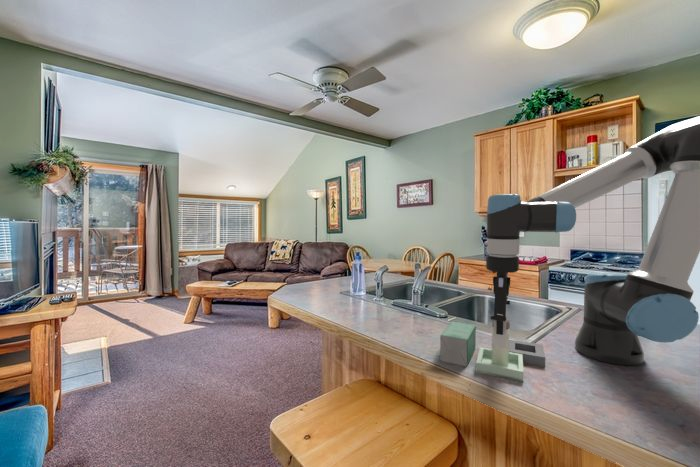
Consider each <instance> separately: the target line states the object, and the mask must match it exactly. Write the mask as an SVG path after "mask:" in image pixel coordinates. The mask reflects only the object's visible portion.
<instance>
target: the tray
mask: <svg viewBox="0 0 700 467" xmlns="http://www.w3.org/2000/svg"><path fill="white" fill-rule="evenodd" d="M491 355H492V348H487V347H482V346H481V347H479V350H478V354H477V358H476V362H475V364H476V365H475V372H476V373H477V374H478V373H479V374H484V375H488V376H493V377H497V378H502V379H507V380H512V381H517V382H521V383H524V363H523V355H522V354H518V353H512V352H509V358H508V367H505V366H500V365H495V364H491Z"/></svg>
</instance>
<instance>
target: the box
mask: <svg viewBox="0 0 700 467" xmlns="http://www.w3.org/2000/svg"><path fill="white" fill-rule="evenodd" d="M476 329H477V326H476V325H475V324H472V323H464V322H458V321H450V322H449V324H448V325H447V326H446V328H444V330H443V331H442V332H441V334H440V335H439V336H440V340H439V341H440V348H439V349H440V354H439V359H440V361H441V362H444V363H448V364H454V365H457V366H461V367H467V366H468V364H469V363H470V361H471V359H472V356H473V354H474V353H475V350H476V342H477V341H476V335H477V334H476V332H477V330H476Z"/></svg>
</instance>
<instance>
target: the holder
mask: <svg viewBox="0 0 700 467" xmlns="http://www.w3.org/2000/svg"><path fill="white" fill-rule="evenodd" d="M509 352H512V353H518V354H522V355H523V364H528V365H534V366H538V367H539V366H540V367H544V368H545V367H546V355H545V350H544V346H543V344H541V343H535V342H533V343H532V342H529V341H528V342H527V341H523V340H522V341H521V340H515V339H514V340H513V339H509Z"/></svg>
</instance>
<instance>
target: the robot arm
mask: <svg viewBox="0 0 700 467" xmlns="http://www.w3.org/2000/svg"><path fill="white" fill-rule="evenodd" d="M670 171H672V172H673V173H674V178H673V180H672V183H671V185H670V187H669V190H668V193H667V194H666V195H667V196H666V198H665V200H664V203H663V205H662V209H661V211H660V214H659V215H658V219H657V221H656V223H655V225H654V228H653V230H652V233H651V236H650V239H649V241H648V244H647V246H646V249H645V250H644V254H643V256H642V258H641V261H640V264H639V266H638V268H637V269H636V270H633V271H631V272H628V273H627V274H625V273H608V272H607V273H605V272H603V273H600V272H595V273H593V272H591V273H588V274H586V276H585V278H584V279H585V280H584V283H583V287H584V295H583V322H582V324H581V327H580V329H579V332H578V334H577V335H576V337H575V342H574V345H575V346H574V348H575V349H576V351H578V352H579V353H580V354H582V355H584V356H586V357H589V358H591V359H594V360H597V361H600V362H604V363H608V364H613V365H620V366H638V365H641V364H643V363H644V360H645V357H644V356H645V353H644V350H643V347H642V344H641V341H640V338H641V337H642V338H643V339H646V340H649V341H651V342H656V343H674V342H675V341H678V340H679V341H680V340H683V339H685V338H686V337H688V336H689V335H690V334H692V332H694V331H695V329H696V327H697V326H698V323H699V318H700V317H699V312H698V311H697V310H696V309H697V307H696V306H695V304H694V303H693V302H692V301H691V299H692V297H693V295H694V292H695V291H694V290H693V289H692V287H691V286H690V285H689V282H688V281H689V279H690V276H691V274H692V272H693V269H694V266H695V264H696V262H697V259H698V257H699V254H700V115H696V116H695V117H691V118H688V119H685V120H681V121H678V122H676V123H673V124H671V125H668V126H666V127H665V128H662V129H661V130H660V131H657V132H655V133H654V134H652V135H650V136H648V137H647V138H645V139H642V140H641V141H639V142H637V143H636V144H634V145H632V146H629V147H627V149H626V150H624V154H621V155H619V156H617V157H616V158H614V159H612V160H609V161H607V162H606V163H604V164H601V165H599V166H597V167H595V168H592V169H591V170H588V171H587V172H585V173H582V174H581V175H579V176H577V177H575V178H571V180H570V179H569V180H568V181H566V182H564V183H561V184H560V185H558V186H556V187H553V188H552V189H550V190H548V191H545V192H544V193H543V192H542V194H539V195H537V196H536V197H534V198H531V199H529V200H527V201H522V198H521V195H519V194H517V193H513V194H512V193H500V194H492V195H490V196H489V197H488V199H487V207H486V209H487V210H486V241H484V242H483V244H484V246H486V253H487V256H485V258H486V259H485V260H486V261H485V268H486V270H487V271H490V272H496V275H494V276H493V278H492V284H493V285H492V286H493V295H494V304H493V305H494V307H493V309H494V310H493V315H490V320H491V321H492V320H494V328H493V346H497V347H503V348H506V319H507V320H508V305H511V300H508V296H509V295H510V294H509V293H510V286H511V277H509V276H508V274H509V273H517V272H518V271H519V269H520V268H519V267H520V266H519V265H520V258H519V257H518V255H520V233H521V232H522V233H528V232H529V233H531V232H532V233H556V234H558V233H567V232H569V231H571V230H573V228H574V227H575V225H576V222H577V211H576V208H579V207H581V206H583V205H585V204H587V203H589V202H591V201H594V200H596V199H598V198H600V197H602V196H604V195H607V194H608V193H611V192H613V191H615V190H618V189H619V188H621V187H623V186H626V185H628V184H630V183H632V182H635V181H636V180H638V179H649V178H652V177H655V176H657V175H659V174H662V173H664V172H670ZM639 337H640V338H639Z"/></svg>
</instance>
